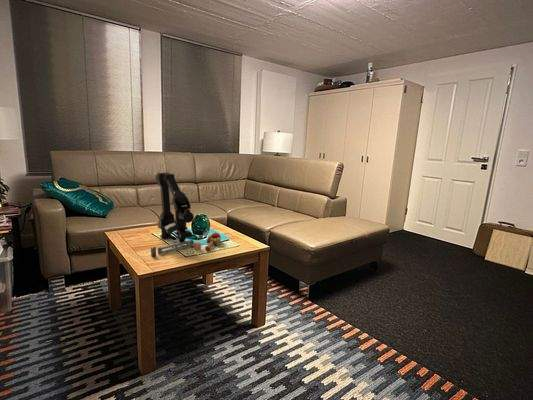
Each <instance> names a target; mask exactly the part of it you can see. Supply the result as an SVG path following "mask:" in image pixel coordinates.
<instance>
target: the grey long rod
mask: <svg viewBox="0 0 533 400" xmlns="http://www.w3.org/2000/svg"><path fill="white" fill-rule="evenodd" d="M191 247H194V239H189V240H185V241H184V242H176V243H172V244H168V245H167V244H166V245H163V246H159V247H157V254H158V255H162V254H166V253H170V252H175V251H179V250H182V249H186V248H191Z"/></svg>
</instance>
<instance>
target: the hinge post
mask: <svg viewBox="0 0 533 400" xmlns="http://www.w3.org/2000/svg"><path fill="white" fill-rule="evenodd" d="M150 256H151V257H152V258H155V257H157V247H156V246H151V247H150Z"/></svg>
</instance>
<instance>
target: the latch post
mask: <svg viewBox="0 0 533 400" xmlns="http://www.w3.org/2000/svg"><path fill="white" fill-rule="evenodd" d="M193 242H194V241H193ZM193 250H194V251H195V252H198V251H201V250H202V242H200V241H195V242H194V246H193Z"/></svg>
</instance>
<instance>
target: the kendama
mask: <svg viewBox="0 0 533 400" xmlns="http://www.w3.org/2000/svg"><path fill="white" fill-rule="evenodd" d="M220 242H221V234H220V233H217V232H213V233H212V234H211V235H208V236H207V239H206V244H207V245H206V246H205V248H204V249H205V252H210V251H211V250H212V247H213V245H214V244H215V246H217V247H218V246H220Z"/></svg>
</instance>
